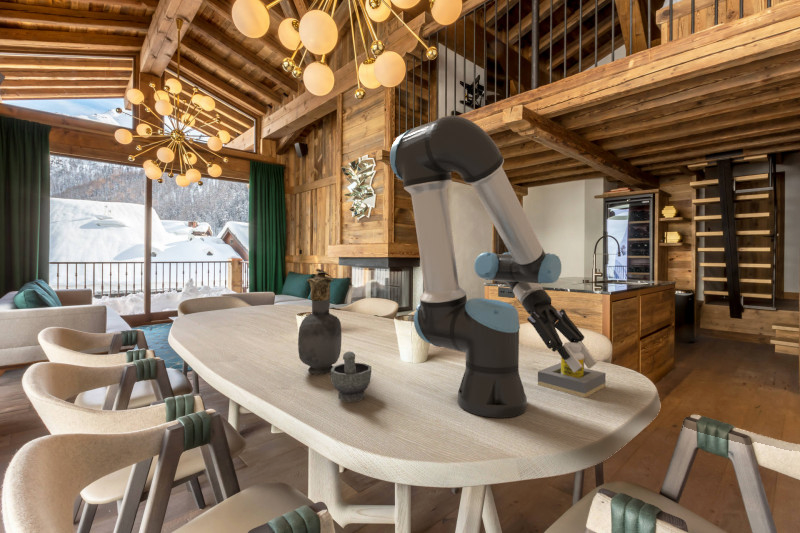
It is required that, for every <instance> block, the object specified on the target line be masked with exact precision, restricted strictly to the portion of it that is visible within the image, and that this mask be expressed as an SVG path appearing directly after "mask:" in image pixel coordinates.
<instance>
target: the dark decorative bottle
mask: <svg viewBox="0 0 800 533" xmlns="http://www.w3.org/2000/svg"><path fill="white" fill-rule="evenodd" d="M315 271H316V272H317V273H316V274H315V276H314V277H313V278H308V279H307V280H306V281H307V282H308V283H309V286H310V300H311V313H310V314H309V315H307V316H305V317H304V318H303V320H302V321H301V323H300V325H299V329H298V336H297V338H298V339H297V349H298V355H299V356H298V358H299V359H300V361H301V362H302V363H303V364H304V365H306V366H309V368H308V373H309V374H310V373H311V375H314V374H318V375H317V376H320V374H323V375H327V373H328V374H331V369H332V367H334V366H333V365H334V364H336V363H337V362H338V360H339V358H340V355H341V352H342V324H341V321H340V319H339V317H337V316H336V315H334V314H332V313H330V305H331V303H330V300H331V283H332V282H333V281H334V279H333V278H329V277H332V276H331V275H330V273H328V272H327V271H325V270H322V269H320V268H316V269H315ZM327 276H328V277H327Z"/></svg>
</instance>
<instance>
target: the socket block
mask: <svg viewBox="0 0 800 533" xmlns="http://www.w3.org/2000/svg"><path fill="white" fill-rule="evenodd" d="M606 374H607V373H606V372H602V371H599V370H593V369H591V368H589V369H588V368H585V367H584V376H583V377H581V378H575V377H571V376H567V375H563V374H561V362H559V363H556V364H554V365H552V366H549V367H546V368H543V369H541V370H539V371H537V386H541V387H544V388H548V389H552V390H556V391H559V392H562V393H566V394H569V395H573V396H577V397H580V398H584V399H585V398H587V397H589V396H591V395H592V394H594V393H596V392H597V391H599V390H602V389H603V388H606Z"/></svg>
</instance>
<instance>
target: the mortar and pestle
mask: <svg viewBox="0 0 800 533" xmlns="http://www.w3.org/2000/svg"><path fill="white" fill-rule="evenodd" d="M342 360H344V362H343V363H340V364H336V365H334V366H333V367H332V369H331V372H330V381H331V384H332V385H333V387H334V389H335V390H336V391H338V400H340V401H341V402H346V401H347V402H348V403H351V402H352V403H354V402H359V401H361V400H364V398H365V390H366V389H367V388H368V386H369V384H370V383H371V377H372V366H371V365H369V364H367V363H362V362H360V363H359V362H356V354H355V353H354V352H353V351H346V352H344V353H343V355H342ZM353 401H354V402H353Z"/></svg>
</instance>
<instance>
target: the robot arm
mask: <svg viewBox="0 0 800 533" xmlns="http://www.w3.org/2000/svg"><path fill="white" fill-rule="evenodd" d="M389 163H390V166H391V170H392V172H393V174H395V175H396V177H397V179H398V180H400V181H402V183H403V189H404V190H405V191H406V192H407V193H409V194H410V197H411V204H412V209H413V218H414V224H415V225H414V226H415V230H416V237H417V245H418V252H419V258H420V266H421V273H422V281H423V287H424V291H423V293H422V294H421V295H420V296H419V301H420V302H419V303H418V304H417V306H416V308H415V310H416V311H415V312H414V315H413V325H414V330H415V332H416V334H417V335H418V337H419V338H420V339H421V340H422V341H424V342H425V343H428V344H430V345H432V346H435V347H439V348H443V349H444V348H445V349H449V350H452V351H458V352H461V353H462V352H463V353H465V369H464V372H463V376H462V378H461V382H460V385H459V388H458V391H457V404H458V406H459V407H460V408H461V409H463V410H464V411H466V412H468V413H471V414H474V415H476V416H481V417H487V418H496V419H497V418H499V419H500V418H502V419H504V418H512V417H517V416H520V415H522V414H524V413H525V412H526V411H527V409H528V407H527V405H528V404H527V403H528V400H527V395H526V391H525V388H524V386H523V383H522V378H521V376H520V370H519V368H520V366H519V362H520V360H519V357H520V353H519V352H520V329H521V325H520V317H519V316H520V315H519V311H518V309H517V308H516V307H515V306H514V305H513V304H511V303H508V302H506V301H502V300H497V299H492V298H491V299H487V298H485V297H484V298H480V297H477V298H469V299H468V298H467V293H466V290H465V289H463V288H461V287H460V284H459V277H458V269H457V267H458V266H457V261H456V253H455V252H456V251H455V245H454V236H453V230H452V222H451V215H450V204H449V197H448V191H447V190H448V188H449V186H450V185H452V184H451V183H452V182H453V179H452V173H453V172H455V173H457V174H459V175H460V177H461V179H462V180H463V182H464V183H465V184H467V185H471V187H472V188H473V190H474V192H475V194H476V195H477V198H478V199H479V201H480V202H481V204H482V207H483V208H484V210H485V211H486V213H487V216H488V217H489V218H490V220H491V222H492V224H493V226H494V227H495V230H496V231H497V233H498V235H499V236H500V238H501V240H502V242H503V244H504V245H505V246H506V248H507V250H508V252H503V253H501V254H499V253H495V252H490V251H489V252H488V251H485V252H484V251H483V252H482V253H480V254H479V255H477V257H476V258H475V261H474V266H473V268H474V271H475V274H476V275H477V276H478V277H479V278H481V279H485V280H486V281H488V280H489V281H493V282H501V283H504V284H506V285H507V286H508V288H509V289H510V290H511V291H512V292H513V294H514V295H515V297H516V298H517V300H518V301H519V302H520V303H521V305H522V307H523V309H524V310H525V311H526V312H527V314H528V315H529V316H528V317H527V322H529V323H530V325H531V326H532V327H533V328H534V330H535V331H536V332H537V334H538V335H539V337H540V339H541V340H542V341H543V343H544V344H545V345H546V348H548V349H549V350H551V351H552V352H554V353H555V352H557V353H558V354H559V355H560V358H561V357H562V358H563V359H564V360H565V361H566V363H567V364H568V365H569V367H570V368H571V370H572V371H573V372H576V371H578V370H579V369H580V368H581V367H583V366H582V365H581V364H580V362H579V361H578V360H577V358H576V357H575V355H574V354H573V353H572V351H571V350H570V349H569V347H568V346H567V345H566V344H565V343H563V341H562V339H561V337H560V335H559V333H560V334H562V336H564V337H565V338H566V340H567V341H568V342H572V343H578V344H581V348H582V349H581V351H580V352H581V353H582V354H583V355H584V366H586V368H587V369H591V368H593V367H594V366H595V365H596V364H597V363H598V362H597V360H596V359H595V357H594V356H593V355H592V353H591V352H590V351H589V349H588V348H587V347H586V345H585V344H584V343H583V341H584V339H585V335H583V333H582V331H580V330H579V328H578V327H577V326H576V324H575V323H574V322H573V321H572V319H571V318H570V317H569V316H568V315H567V313H566V310H565V309H563V308H562V309H560V310H557V309H556V308H555V307H554V306H553V305H552V298H551V297H550V295H549V294H548V292H547V291H546V290H545V289H544V288H543V286H542V285H541V284H554V283H556V282H557V281H558V280H559V278H560V276H561V273H562V261H561V259H560V256H558V255H556V254H555V253H550V252H547V253H546V252H545V250H544V249H543V246H542V245H541V243H540V241H539V239H538V236H537V234H536V232H535V231H534V228H533V227H532V224H531V222H530V221H529V218H528V217H527V215H526V212H525V211H524V208H523V206H522V204H521V202H520V200H519V198H518V196H517V194H516V192H515V190H514V187H512V185H511V182H510V180H509V178H508V176H507V174H506V172H505V170H504V168H503V165H504V163H505V159H504V156H503V155H502V153H501V151H500V149H499V147H498V145H497V144H496V142H495V141H494V140H493V139H492V137H491V136H490V135H489V134H488V133H487V131H485V130H484V129H483V128H482V127H480V125H478V124H477V123H475V122H474V121H472V120H470V119H468V118H466V117H463V116H458V115H446V116H442V117H439V118H438V119H436V120H434V121H430V122H428V123H425V124H421V125H419V126H417V127H413V128H410V129H408V130H406V131H405V132H404V133H401V134H400V135H399V136H397V137H396V139H395V141H393V144H392V146H391V148H390V152H389ZM557 330H558V331H559V333H558V331H557Z"/></svg>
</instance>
